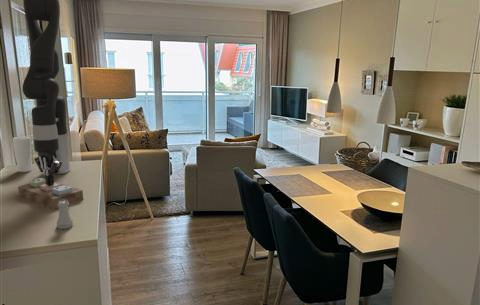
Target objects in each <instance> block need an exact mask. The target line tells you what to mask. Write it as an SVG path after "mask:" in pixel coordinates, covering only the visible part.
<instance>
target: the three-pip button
mask: <svg viewBox="0 0 480 305" xmlns="http://www.w3.org/2000/svg"><path fill="white" fill-rule="evenodd" d="M28 184H29V185H30V186H33V187H36V188H37V187H40V185H44V184H46V181H45V178H42V177H39V178H35V179H30V180H28Z"/></svg>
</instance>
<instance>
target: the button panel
mask: <svg viewBox="0 0 480 305" xmlns="http://www.w3.org/2000/svg"><path fill="white" fill-rule="evenodd" d="M54 183H56V184H59V185H60V186H63V185H65V186H68V187H71V188H72V192H71V193H68V194H65V195H61V196H58V195H55V194H53V193H52V191H48V192H47V191H44V190H41V188H40V187H37V188H36V187H33V186H30V185H29V183H26V184H23V185H18V186H17V188H18V190H17V191H18V196H19V197H21V198H24V199H27V200H29V201H32V202H35V203H37V204H40V205H43V206H45V207H48V208H50V209H52V210H55V209H59V207H58V206H57V204H58V201H60V200H62V201H63V200H65V201H66V200H67V201H68V202H69V205H70V204H73V203H76V202H79V201H82V200H84V192H83V189H81V188H80V189H79V188H77V187H73V186H70V185H68V184H64V183H61V182H58V181H56V180H54Z"/></svg>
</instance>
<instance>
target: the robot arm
mask: <svg viewBox="0 0 480 305" xmlns="http://www.w3.org/2000/svg"><path fill="white" fill-rule="evenodd" d="M23 9H24V14H25V20H26V26H27V31H28V36H29V46H30V55H29V56H30V59H29V66H28V67H29V68H28V70H27V74H26V76H25V78H24V80H23V82H22V93H23V95H24V96H25V97H26V98H27V99H29V100H35V102H36V106H34V107H33V108H32V109H31V120H32V140H33V149H34V151H35V152H36V153H37V157H34V161H35V164H36V165H37V167H38V169H39V172H40V173H42V174H43V176H44V179H45V181H46V185H48V186H51V185H54V181H55V178H54V175H61V174H66V173H69V172H70V171H71V166H70V156H69V155H70V153H69V152H70V151H69V139H68V129H67V128H68V127H67V105H66V99H65V98H64V96H59V93H60V85H59V83H58V81H56V80H55V79H56V77H57V75H58V74H59V71H60V62H59V53H58V52H57V50H56V43H57V42H56V41H57V37H58V36H57V35H58V30H59V24H60V19H61V18H60V17H61V5H60V1H59V0H23ZM39 21H42V22H48V23H47V26H46V27H45V29H44V31H42V29H41V27H40V25H39Z"/></svg>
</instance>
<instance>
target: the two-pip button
mask: <svg viewBox="0 0 480 305" xmlns="http://www.w3.org/2000/svg"><path fill="white" fill-rule="evenodd" d="M65 185H66V184H65ZM65 185H63V186H59V187H55V188H52V193H53V194H55V195H58V196H61V195H65V194H68V193H71V192H72V188H71V187H72V186H71V187H68V186H69V185H68V186H65Z"/></svg>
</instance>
